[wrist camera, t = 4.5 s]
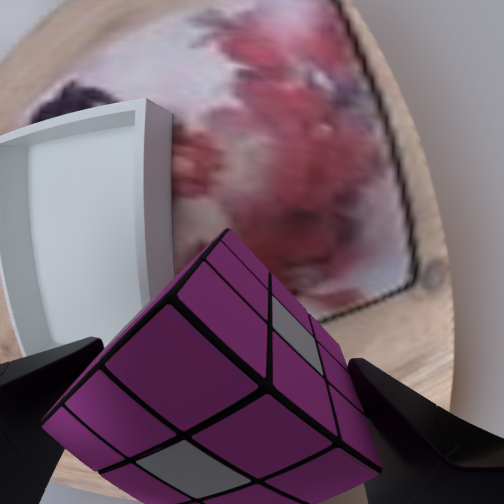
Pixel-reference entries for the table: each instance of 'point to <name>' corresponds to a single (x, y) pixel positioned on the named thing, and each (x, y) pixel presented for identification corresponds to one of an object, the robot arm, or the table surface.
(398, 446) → the robot arm
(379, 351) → the table surface
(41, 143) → the tote
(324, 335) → the puzzle toy
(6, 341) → the table surface
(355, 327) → the table surface
